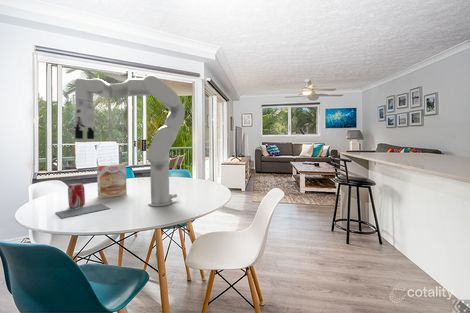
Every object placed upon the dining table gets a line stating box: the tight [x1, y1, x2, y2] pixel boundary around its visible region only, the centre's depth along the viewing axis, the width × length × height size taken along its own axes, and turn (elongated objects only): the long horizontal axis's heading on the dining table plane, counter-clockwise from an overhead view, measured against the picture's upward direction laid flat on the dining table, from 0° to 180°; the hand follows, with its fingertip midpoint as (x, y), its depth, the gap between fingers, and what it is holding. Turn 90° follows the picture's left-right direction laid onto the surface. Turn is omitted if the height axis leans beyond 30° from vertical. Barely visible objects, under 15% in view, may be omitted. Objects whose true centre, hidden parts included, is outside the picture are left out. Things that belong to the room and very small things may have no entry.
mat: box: [55, 203, 111, 219], centre depth 114 cm, size 20×12×1 cm, turn 138°
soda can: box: [67, 182, 86, 209], centre depth 120 cm, size 7×7×12 cm
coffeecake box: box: [96, 163, 127, 199], centre depth 145 cm, size 15×7×20 cm, turn 132°
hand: (85, 138), depth 118 cm, fingers open, 9 cm apart
